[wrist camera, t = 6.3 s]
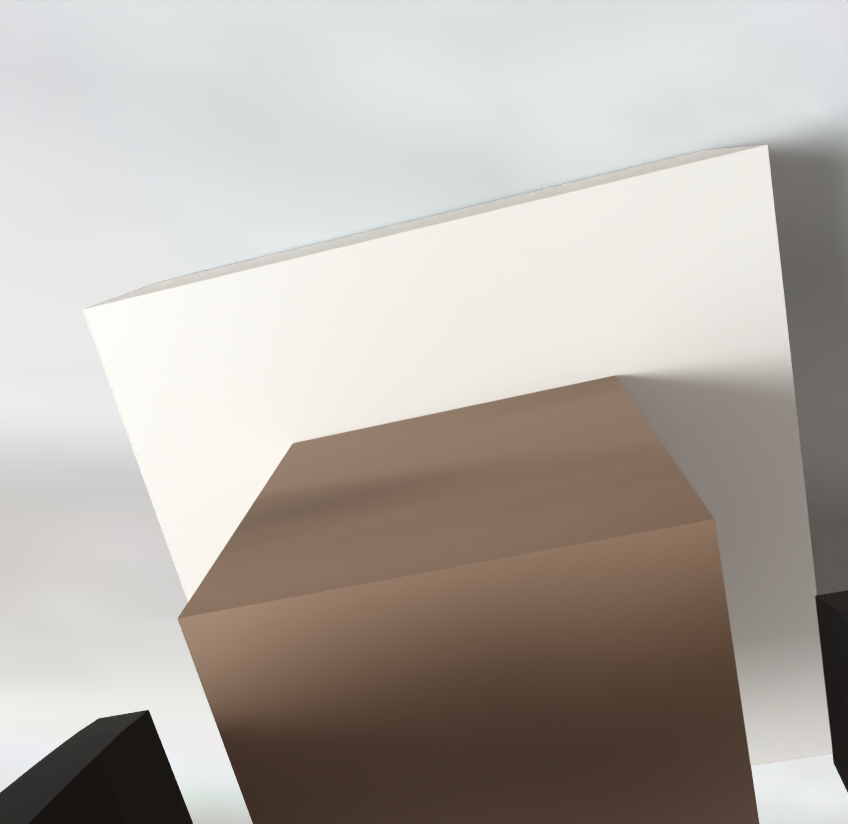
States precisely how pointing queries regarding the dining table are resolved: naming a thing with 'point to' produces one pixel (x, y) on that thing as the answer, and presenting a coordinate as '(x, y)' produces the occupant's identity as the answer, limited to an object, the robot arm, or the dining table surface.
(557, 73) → the dining table surface
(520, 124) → the dining table surface
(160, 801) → the robot arm
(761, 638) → the base block
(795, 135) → the dining table surface
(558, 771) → the walnut cube
